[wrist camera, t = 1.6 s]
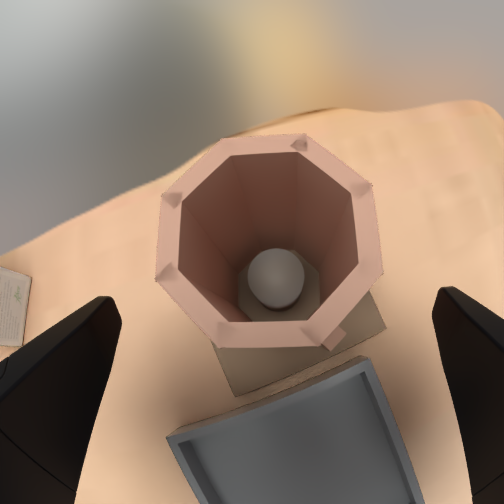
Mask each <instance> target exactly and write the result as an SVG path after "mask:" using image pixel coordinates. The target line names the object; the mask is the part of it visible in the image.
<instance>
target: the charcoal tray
mask: <svg viewBox="0 0 504 504" xmlns="http://www.w3.org/2000/svg"><path fill="white" fill-rule="evenodd" d="M166 439H167V441H168V443H169V446H170V448H171V450H172V452H173V454H174V456H175V458H176V460H177V462H178V464H179V466H180V468H181V470H182V472H183V474H184V475H185V477H186V479H187V481H188V483H189V485H190V487H191V488H192V490H193V492H194V494H195V496H196V497H197V499H198V501H199V503H200V504H425V502H424V499H423V496H422V493H421V490H420V487H419V484H418V481H417V478H416V475H415V472H414V469H413V467H412V464H411V461H410V458H409V456H408V453H407V450H406V447H405V445H404V442H403V439H402V437H401V434H400V431H399V429H398V426H397V424H396V421H395V419H394V416H393V413H392V411H391V408H390V406H389V403H388V401H387V398H386V396H385V394H384V391H383V389H382V386H381V384H380V381H379V379H378V377H377V374H376V372H375V370H374V367H373V365H372V362H371V360H370V358H368V357H364V356H358V357H356V358H354V359H352V360H350V361H348V362H346V363H344V364H342V365H340V366H338V367H336V368H334V369H332V370H329V371H327V372H325V373H323V374H321V375H319V376H316V377H314V378H312V379H310V380H307V381H305V382H303V383H301V384H298V385H296V386H294V387H291V388H289V389H287V390H284V391H282V392H279V393H277V394H274V395H272V396H269V397H267V398H264V399H262V400H259V401H256V402H254V403H251V404H248V405H246V406H243V407H240V408H238V409H235V410H232V411H229V412H226V413H223V414H220V415H217V416H214V417H211V418H208V419H205V420H202V421H199V422H196V423H192V424H189V425H186V426H182V427H179V428H178V429H177V430H175V431H174V432H172V433H171V434H170V435H168V436H167V437H166Z"/></svg>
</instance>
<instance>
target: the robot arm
mask: <svg viewBox="0 0 504 504" xmlns="http://www.w3.org/2000/svg"><path fill="white" fill-rule="evenodd" d="M432 320H433V324H434V329H435V333H436V337H437V342H438V347H439V351H440V356H441V361H442V365H443V369H444V373H445V376H446V379H447V383H448V386H449V390H450V393H451V397H452V401H453V404H454V408H455V412H456V416H457V420H458V424H459V429H460V433H461V437H462V442H463V447H464V452H465V457H466V462H467V468H468V473H469V479H470V486H471V493H472V502H473V504H504V319H502V318H501V317H499V316H498V315H496V314H495V313H494V312H492V311H491V310H489V309H488V308H486V307H485V306H483V305H482V304H480V303H479V302H477V301H476V300H474V299H472V298H471V297H469V296H468V295H466V294H465V293H463V292H462V291H460V290H458V289H457V288H455V287H453V286H449V287H441V288H440V289H439V291H438V294H437V297H436V300H435V304H434V307H433V311H432ZM121 327H122V320H121V316H120V314H119V312H118V309H117V307H116V304H115V301H114V299H113V298H112V297H110V296H98V297H97V298H95V299H93V300H92V301H90V302H89V303H87V304H86V305H84V306H83V307H81V308H79V309H78V310H76V311H75V312H73V313H72V314H70V315H69V316H67V317H66V318H64V319H63V320H61V321H60V322H58V323H57V324H55V325H54V326H52V327H51V328H49V329H48V330H46V331H45V332H43V333H42V334H40V335H39V336H37V337H36V338H34V339H33V340H31V341H30V342H28V343H27V344H26V345H24V346H23V347H21V348H20V349H18V350H17V351H15V352H14V353H13V354H11V355H10V356H9V357H7V358H5V359H4V360H2V361H1V362H0V504H74V502H75V498H76V492H77V488H78V484H79V479H80V475H81V471H82V467H83V463H84V459H85V456H86V452H87V448H88V444H89V441H90V437H91V434H92V430H93V427H94V423H95V420H96V416H97V413H98V410H99V407H100V403H101V400H102V397H103V394H104V391H105V388H106V385H107V381H108V378H109V375H110V372H111V368H112V365H113V360H114V356H115V352H116V347H117V343H118V339H119V335H120V331H121Z"/></svg>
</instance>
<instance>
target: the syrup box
mask: <svg viewBox="0 0 504 504" xmlns="http://www.w3.org/2000/svg"><path fill="white" fill-rule="evenodd" d="M30 285H31V277H29V276H27V275H24V274H21V273H18V272H15V271H12V270H9V269H6V268H3V267H0V346H12V347H20V346H21V345H22V342H23V335H24V328H25V320H26V313H27V305H28V298H29V291H30Z"/></svg>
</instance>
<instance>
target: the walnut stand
mask: <svg viewBox="0 0 504 504" xmlns="http://www.w3.org/2000/svg"><path fill="white" fill-rule="evenodd" d="M319 306H320V290H319V271H317V270H316V269H315V268H314V267H313V266H312V265H311V264H310V263H309V262H307V261H306V260H305V259H304V258H303V257H302V256H301V255H300V254H298V253H297V252H296V251H295V250H284V249H279V248H274V249H268V250H266V251H261V252H260V253H259V254H258V255H257V256H256V257H255V258H254V259H253V260H252V261H251V262H250V263H249V264H248V265H247V266H246V267H245V268H244V269H243V270H242V271H241V272H240V273H239V274H238V307H239V308H240V309H241V310H242V311H243V312H244V313H245V314H246V315H247V316H248V317H249V318H250V319H251V320H252V321H253V322H275V321H305V320H307V318H308V317H309V316H310V315H311V314H312V313H313V312H314V311H315V310H316V309H317V308H318V307H319ZM338 326H339V327H340V328H341V329H342V330H344V331H345V332H346V333H347V334H346V335H345V336H344V337H343V339H342V340H341V341H340V342H339V343H338V344H337V345H336V346H335V347H334V348H333V349H332V351H328V350H327V349H326V348H325V347H323V346H322V345H321V346H318V347H316V346H304V347H270V348H221V349H219V348H217V346H216V345H215V344H214V343H213V342H212V341H211V342H212V345H213V347H214V350H215V352H216V355H217V357H218V359H219V362H220V364H221V366H222V369H223V371H224V373H225V376H226V378H227V380H228V383H229V385H230V387H231V389H232V392H233V394H234V396H235V397H237V396H240V395H242V394H245V393H248V392H250V391H253V390H255V389H258V388H260V387H263V386H265V385H268V384H270V383H273V382H275V381H278V380H280V379H282V378H285V377H287V376H290V375H292V374H294V373H297V372H299V371H301V370H303V369H306V368H308V367H310V366H312V365H314V364H317V363H319V362H321V361H323V360H325V359H327V358H330V357H332V356H334V355H336V354H338V353H340V352H342V351H344V350H346V349H348V348H350V347H352V346H354V345H356V344H358V343H360V342H362V341H364V340H366V339H368V338H370V337H372V336H374V335H375V334H377V333H379V332H381V331H383V330H385V329H387V328H386V326H385V324H384V322H383V319H382V317H381V315H380V313H379V311H378V308H377V306H376V304H375V302H374V300H373V298H372V295H371V293H370V291H369V290H368V291H367V293H366V294H365V295H364V296H363V297H362V298H361V300H360V301H359V302H358V303H357V304H356V305H355V307H354V308H353V309H352V310H351V311H350V312H349V313H348V315H347V316H346V317H345V318H344V319H343V320H342V321H341V322H340V324H339V325H338ZM210 340H211V339H210Z"/></svg>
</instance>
